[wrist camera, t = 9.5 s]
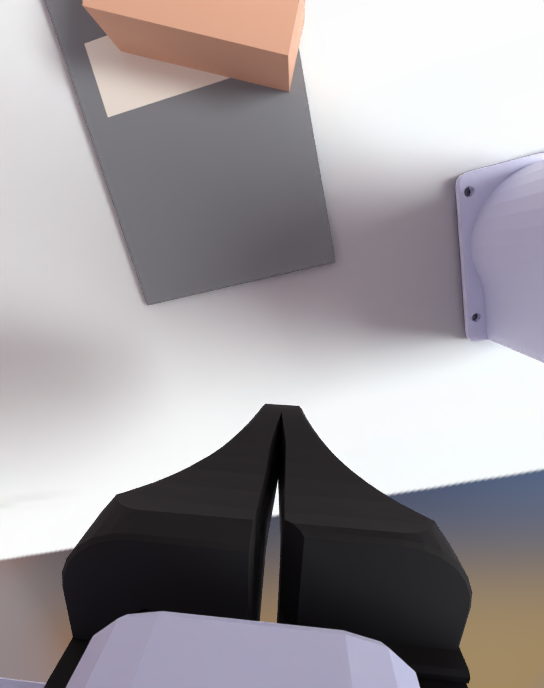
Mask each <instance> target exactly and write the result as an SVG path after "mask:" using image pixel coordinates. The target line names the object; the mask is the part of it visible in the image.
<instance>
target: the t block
mask: <svg viewBox="0 0 544 688" xmlns="http://www.w3.org/2000/svg"><path fill="white" fill-rule="evenodd" d="M83 7H84V8H85V9H86V10H87V12H88V13H89V14H90V15H91V16H92V18H93V19H94V20H95V21H96V22H97V23H98V25H99V26H100V27H101V28H102V29H103V31H104V32H105V33H106V34H107V35H108V37H109V38H110V39H111V40H112V41H113V42H114V44H115V45H116V46H117V47H118V48H119V50H120V51H122V52H126V53H130V54H134V55H139V56H143V57H147V58H151V59H155V60H159V61H163V62H167V63H172V64H176V65H180V66H184V67H188V68H192V69H196V70H200V71H205V72H209V73H213V74H217V75H221V76H225V77H229V78H234V79H238V80H242V81H246V82H250V83H254V84H258V85H262V86H267V87H271V88H275V89H279V90H283V91H287V92H289V91H290V86H291V82H292V77H293V72H294V67H295V62H296V58H297V53H298V48H299V43H300V39H301V34H302V29H303V24H304V14H305V0H83Z"/></svg>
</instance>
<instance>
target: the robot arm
mask: <svg viewBox="0 0 544 688" xmlns="http://www.w3.org/2000/svg"><path fill="white" fill-rule="evenodd" d="M466 188H469V189H470V195H469V196H468V197H467V196H465V194H464V190H465V189H466ZM456 200H457V215H458V229H459V244H460V258H461V273H462V288H463V302H464V317H465V332H466V337H467V338H468V339H470V340H472V341H481V340H487V339H489V340H492V341H494V342H496V343H499V344H501V345H503V346H506V347H508V348H510V349H513V350H515V351H517V352H520V353H522V354H525V355H527V356H529V357H532V358H534V359H536V360H539V361H541V362H543V363H544V152H542V153H538V154H534V155H530V156H526V157H522V158H518V159H514V160H510V161H507V162H503V163H499V164H495V165H491V166H487V167H483V168H479V169H475V170H471V171H468V172H465V173H463V174H461V175H460V176H459V177H458V178H457V180H456ZM476 313H477V315H478V316H477V318H476V319H475V320H472V316H473V315H474V314H476ZM277 482H278V489H279V515H280V573H279V592H278V613H277V623H270V622H261V621H260V611H261V599H262V588H263V576H264V564H265V554H266V545H267V538H268V532H269V527H270V521H271V516H272V510H273V505H274V499H275V493H276V488H277ZM62 581H63V591H64V596H65V600H66V605H67V610H68V615H69V620H70V624H71V629H72V634H73V638H72V640H71V642H70V643H69V645H68V647H67V649H66V650H65V652H64V654H63V655H62V657H61V659H60V661H59V662H58V664H57V666H56V668H55V669H54V671H53V673H52V674H51V676H50V678H49V679H48V681H47V683H41V682H33V681H25V680H16V679H9V678H1V677H0V688H468V687H467V684H466V683H469V680H470V674H469V670H468V667H467V665H466V662H465V660H464V658H463V656H462V653H461V651H460V648H459V644H460V641H461V638H462V634H463V631H464V628H465V624H466V621H467V618H468V614H469V611H470V608H471V598H472V590H471V586H470V583H469V579H468V576H467V575H466V573H465V571H464V569H463V567H462V566H461V563H460V562H459V560H458V558H457V556H456V554H455V553H454V551H453V549H452V547H451V546H450V544H449V543H448V541H447V540H446V538H445V536H444V535H443V533H442V532H441V531H440V529H439V527H438V526H437V524H436V523H435V521H433V520H431V519H429V518H427V517H425V516H423V515H421V514H419V513H417V512H415V511H413V510H412V509H410V508H408V507H406V506H404V505H402V504H400V503H398V502H396V501H395V500H393V499H392V498H390V497H388V496H387V495H385V494H383V493H382V492H380V491H379V490H377V489H376V488H374V487H373V486H371V485H370V484H368V483H367V482H366V481H364V480H363V479H362V478H360V477H359V476H358V475H356V474H355V473H354V472H353V471H351V470H350V469H349V468H348V467H347V466H345V465H344V464H343V463H342V462H341V461H340V460H339V459H338V458H337V457H336V456H335V455H334V454H333V453H332V452H331V451H330V450H329V449H328V447H327V446H326V445H325V444H324V443H323V441H322V440H321V439H320V438H319V436H318V435H317V433H316V432H315V431H314V429H313V428H312V426H311V425H310V423H309V422H308V420H307V418H306V417H305V415H304V413H303V411H302V409H301V408H300V407H299V406H291V405H275V404H265V405H264V406H263V407H262V408H261V409H260V411H259V412H258V413H257V414H256V415H255V417H254V418H253V419H252V420H251V421H250V422H249V423H248V424H247V425H246V426H245V427H244V428H243V429H242V430H241V431H240V432H239V433H238V434H237V435H236V436H235V437H234V438H232V439H231V440H230V441H229V442H228V443H227V444H225V445H224V446H223V447H221V448H220V449H219V450H217V451H216V452H214V453H213V454H211V455H210V456H208V457H206V458H204V459H203V460H201V461H199V462H197V463H195V464H194V465H192V466H190V467H188V468H186V469H184V470H182V471H180V472H178V473H176V474H174V475H171V476H169V477H166V478H164V479H162V480H159V481H157V482H154V483H151V484H148V485H145V486H142V487H139V488H136V489H133V490H130V491H127V492H124V493H121V494H117V495H116V496H115V497H114V498H113V499H112V501H111V502H110V503H109V504H108V505H107V506H106V507H105V509H104V510H103V511H102V512H101V513H100V515H99V516H98V517H97V519H96V520H95V521H94V523H93V524H92V525H91V527H90V528H89V529H88V531H87V532H86V533H85V535H84V536H83V537H82V539H81V540H80V541H79V543H78V544H77V545H76V547H75V548H74V549H73V551H72V552H71V554H70V555H69V556H68V558H67V559H66V562H65V565H64V568H63V571H62Z"/></svg>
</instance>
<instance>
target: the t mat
mask: <svg viewBox="0 0 544 688" xmlns="http://www.w3.org/2000/svg"><path fill="white" fill-rule="evenodd" d="M45 2H46V5H47V8H48V11H49V14H50V17H51V20H52V23H53V26H54V29H55V32H56V35H57V38H58V40H59V43H60V46H61V49H62V52H63V55H64V58H65V61H66V64H67V67H68V70H69V73H70V76H71V79H72V82H73V85H74V88H75V91H76V94H77V97H78V100H79V103H80V106H81V109H82V112H83V115H84V118H85V121H86V124H87V127H88V130H89V133H90V136H91V139H92V142H93V144H94V147H95V150H96V153H97V156H98V159H99V162H100V165H101V168H102V171H103V174H104V177H105V180H106V183H107V186H108V189H109V192H110V195H111V198H112V201H113V204H114V207H115V210H116V213H117V216H118V219H119V222H120V225H121V228H122V231H123V234H124V237H125V240H126V243H127V246H128V249H129V251H130V254H131V257H132V260H133V263H134V266H135V269H136V272H137V275H138V278H139V281H140V284H141V287H142V290H143V293H144V296H145V299H146V302H147V305H152V304H156V303H160V302H164V301H169V300H173V299H177V298H182V297H186V296H190V295H195V294H199V293H203V292H207V291H212V290H216V289H220V288H225V287H229V286H233V285H237V284H242V283H246V282H250V281H255V280H259V279H263V278H268V277H272V276H276V275H280V274H285V273H289V272H293V271H298V270H302V269H306V268H311V267H315V266H319V265H323V264H328V263H332V262H335V257H334V252H333V246H332V240H331V234H330V228H329V222H328V216H327V211H326V205H325V199H324V193H323V187H322V181H321V176H320V170H319V164H318V158H317V152H316V146H315V140H314V135H313V129H312V123H311V117H310V111H309V105H308V100H307V94H306V88H305V82H304V76H303V70H302V65H301V59H300V53H299V48H298V53H297V58H296V62H295V67H294V72H293V77H292V82H291V86H290V91H289V92H287V91H283V90H279V89H275V88H271V87H267V86H262V85H258V84H254V83H250V82H246V81H242V80H238V79H234V78H229V77H225V76H221V75H217V74H213V73H209V72H205V71H200V70H196V69H192V68H188V67H184V66H180V65H176V64H172V63H167V62H163V61H159V60H155V59H151V58H147V57H143V56H139V55H134V54H130V53H126V52H122V51H120V50H119V48H118V47H117V46H116V45H115V44H114V42H113V41H112V40H111V39H110V38H109V37H108V35H107V34H106V33H105V32H104V31H103V29H102V28H101V27H100V26H99V25H98V23H97V22H96V21H95V20H94V19H93V18H92V16H91V15H90V14H89V13H88V12H87V10H86V9H85V8H84V7H83V0H45Z"/></svg>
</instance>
